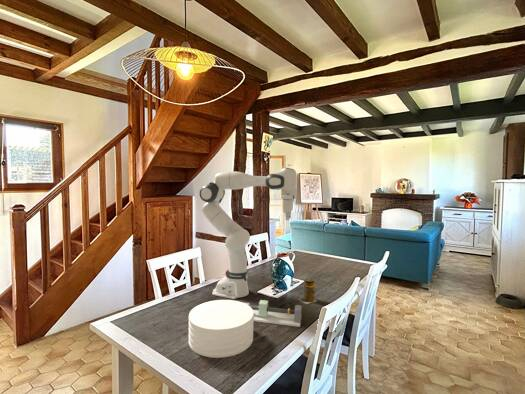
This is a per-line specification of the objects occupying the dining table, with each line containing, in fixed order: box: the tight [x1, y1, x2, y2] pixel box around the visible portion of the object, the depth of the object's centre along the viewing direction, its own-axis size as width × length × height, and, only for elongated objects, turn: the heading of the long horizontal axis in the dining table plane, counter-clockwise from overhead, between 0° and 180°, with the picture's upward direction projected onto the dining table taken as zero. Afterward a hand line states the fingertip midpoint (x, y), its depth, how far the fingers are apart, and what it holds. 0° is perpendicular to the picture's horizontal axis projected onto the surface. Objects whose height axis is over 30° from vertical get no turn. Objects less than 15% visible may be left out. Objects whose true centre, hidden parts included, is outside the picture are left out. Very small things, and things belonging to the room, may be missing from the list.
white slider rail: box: [244, 302, 302, 328], centre depth 143 cm, size 30×10×7 cm, turn 78°
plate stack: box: [188, 299, 254, 359], centre depth 124 cm, size 28×28×12 cm
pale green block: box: [258, 299, 269, 317], centre depth 144 cm, size 4×4×6 cm
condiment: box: [298, 278, 318, 305], centre depth 166 cm, size 7×8×12 cm
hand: (288, 219), depth 166 cm, fingers open, 8 cm apart
